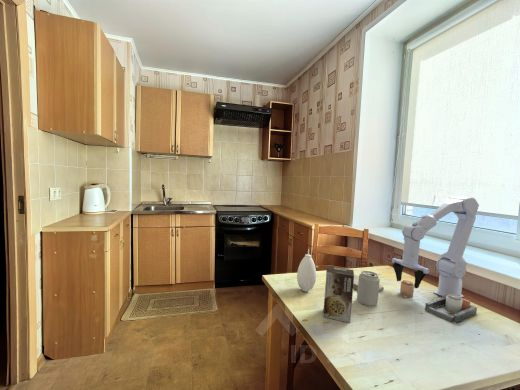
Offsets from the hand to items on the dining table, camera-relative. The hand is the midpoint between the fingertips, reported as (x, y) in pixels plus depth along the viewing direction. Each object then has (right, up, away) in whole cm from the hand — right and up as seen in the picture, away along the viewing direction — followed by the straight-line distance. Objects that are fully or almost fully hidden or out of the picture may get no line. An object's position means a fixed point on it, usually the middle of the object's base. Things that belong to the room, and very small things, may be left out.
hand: (407, 284), depth 110 cm
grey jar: (+11, -6, -12) cm, 17 cm away
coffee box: (-37, -4, -22) cm, 43 cm away
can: (-22, -4, -10) cm, 24 cm away
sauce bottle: (-45, -2, -3) cm, 45 cm away
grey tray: (+9, -6, -13) cm, 17 cm away
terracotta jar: (0, -5, 0) cm, 5 cm away
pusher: (+14, -6, -10) cm, 18 cm away
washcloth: (-18, -4, +7) cm, 20 cm away
